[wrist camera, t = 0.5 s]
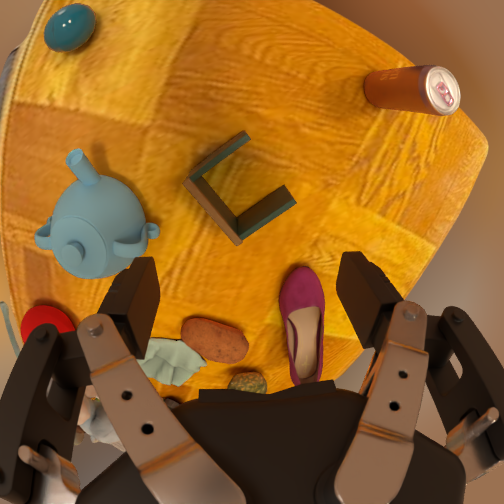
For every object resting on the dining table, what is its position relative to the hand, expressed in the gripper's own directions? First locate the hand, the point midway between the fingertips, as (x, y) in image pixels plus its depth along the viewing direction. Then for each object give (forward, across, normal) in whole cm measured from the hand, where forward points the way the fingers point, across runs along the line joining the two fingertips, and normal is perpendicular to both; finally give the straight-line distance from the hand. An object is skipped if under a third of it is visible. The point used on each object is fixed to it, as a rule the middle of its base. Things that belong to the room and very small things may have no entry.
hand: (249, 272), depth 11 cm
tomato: (+28, +41, +31) cm, 58 cm away
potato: (+29, +4, +33) cm, 44 cm away
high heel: (+29, -12, +30) cm, 43 cm away
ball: (+29, +23, -23) cm, 44 cm away
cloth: (+28, +19, +43) cm, 55 cm away
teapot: (+29, +20, +6) cm, 36 cm away
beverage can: (+29, -21, -12) cm, 38 cm away
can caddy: (+29, -1, +3) cm, 29 cm away
